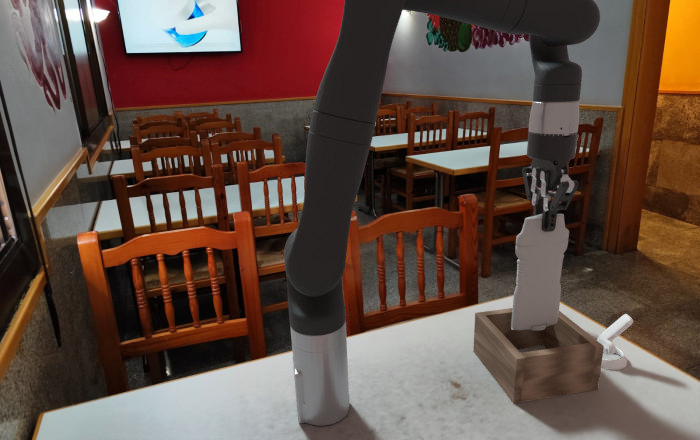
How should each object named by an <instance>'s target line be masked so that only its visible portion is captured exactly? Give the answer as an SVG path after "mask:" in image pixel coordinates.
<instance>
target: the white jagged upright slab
mask: <svg viewBox="0 0 700 440" xmlns="http://www.w3.org/2000/svg"><path fill="white" fill-rule="evenodd" d="M569 236H570V230H569V229H568V228H567V227H566V224H565V215H564V213H557V219H556V227H555V230H554V231H550V232H544V231H543V230H542V214H539V215H536V216H533V215H531V216H528V217H525V218H524V222H523V225H522V229H521V231H520V233H518V234H517V235H516V237H515V238H516V239H515V255H516V257H517V258H518V259H517V260H516V263H517V264H516V266H517V267H516V269H517V270H516V278H515V281H516V282H515V284H516V286H515V289H514V292H513V298H512V299H513V300H512V308H513V309H512V322H511V329H512V330H515V331H524V330H537V331H539V330H544V329H545V328H546V327H548V326H552V325H555V324H557V323H558V314H559V311H560V305H561V295H562V286H561V279H562V270H563V269H562V268H563V264H564V262H563V261H564V258H565V254H564V253H565V252H566V251H567V249H568V245H569Z"/></svg>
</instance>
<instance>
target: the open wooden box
mask: <svg viewBox="0 0 700 440" xmlns="http://www.w3.org/2000/svg"><path fill="white" fill-rule="evenodd" d="M512 309H513V307H510V308H509V307H508V308H503V309H501V308H500V309H495V310H494V309H493V310H487V311H479V312H475V313H474V331H473V332H474V334H473V353H474V354H475V356H476V357H477V358H478V359H479V361H480V362H481V363H482V365H484V367H485V369H487V372H489V374H490V375H491V376H492V378H493V379H494V381H495V382H496V383H497V384H498V385H499V387H500V388H501V389H502V391H503V392H504V393H505V394H506V396H507V397H508V399H510V401H511V402H512V404H517V403H522V402H523V403H524V402H529V401H535V400H536V401H537V400H541V399H543V400H544V399H547V398H548V399H549V398H554V397H561V396H567V395H573V394H577V393H578V394H579V393H585V392H591V391H596V390H599V383H600V378H601V377H600V376H601V369H602V368H601V363H602V358H603V356H604V352H603V349H604V346H603V345H602V344H601V343H599V342H598V341H597V339H596V338H594V337H593V336H592V335H591V334H590V333H588V332H587V331H585V329H583V328H582V327H580V326H579V325H578V324H577V323H576V322H574V321H573V320H571V318H569V317H568V316H566V314H564V313H563V312H562V311H560V310H559V314H558V323H557V324H555V325H552V326H548V327H546V328H545V329H544V330H539V331H537V330H524V331H515V330H512V329H511V322H512ZM539 347H545V349H544V348H543V349H537V350H531V351H524V352H520V351H519V350H524V349H530V348H532V349H533V348H539Z"/></svg>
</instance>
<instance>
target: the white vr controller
mask: <svg viewBox="0 0 700 440" xmlns="http://www.w3.org/2000/svg"><path fill="white" fill-rule="evenodd" d="M633 324H634V319H633V318H632V317H631V316H630V315H629V314H628V313H624V314H623V315H622V316H620V317H619V318H618V319H616V320H615V321H614V322H613V323H612V324H611V325H609V326H608V327H607V328H606V329H605V330H603V332H602V333H600V335H599V336H598V337H597V339H596V340H597V341H598V342H599V343H601V344H602V345H603V346H604V349H603V354H606V355H611V356H612V355H613V354H616V355H618V356H620V358H617V359H606V358H603V357H602V363H601V369H604V370H610V371H611V370H613V371H615V370H616V371H617V370H622V369H624V368H625V367H626V366H627V365H628V361H627V357H626V356H625V353H624V352H623V351H622V350H621V349H620V348H618V347H617V346H616V345H615V343H614V342H613V341H614V340H615V339H616V338H617V337H619V336H620V335H621V334H623V332H625V330H627V329H628V328H629V327H631V326H632V325H633Z"/></svg>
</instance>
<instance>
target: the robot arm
mask: <svg viewBox="0 0 700 440" xmlns="http://www.w3.org/2000/svg"><path fill="white" fill-rule="evenodd" d="M403 11H407V12H409V11H410V12H416V13H422V14H428V15H433V16H437V17H441V18H445V19H450V20H453V21H457V22H460V23H463V24H464V23H465V24H467V25H471V26H474V27H475V26H476V27H479V28H484V29H487V30H491V31H496V32H499V33H503V34H504V33H505V34H509V35H515V36H516V35H517V36H519V35H528V43H529V50H530V57H531V62H532V67H533V71H534V81H533V89H532V90H533V93H532V102H531V109H530V111H529V112H530V113H529V121H528V123H529V124H528V132H527V133H528V134H527V135H528V136H527V147H526V156H527V157H528V158H529V159H532V161H531V163H530V164H531V165H530V166H527V167H526V166H525V167H522V169H521V170H522V171H521V173H522V178H523V184H524V189H525V190H524V191H525V194H526V199H527V200H531V205H532V206H533V215H532V216H536V215H539V214H542V230H543V231H544V232H550V231H554V230H555V227H556V219H557V214H558V212H559V211H563V210H564V211H565V210H567V209H568V207H569V205H570V203H571V201H572V199H573V197H574V196H575V194H576V192H577V189H578V188H579V186H580V185H579V181H578V180H572V179H571V177H570V176H569V174H570V173H569V172H570V170H569V161H570V160H573V159H574V158H575V157H576V150H577V144H578V143H577V141H578V140H577V139H578V131H579V123H580V98H581V89H582V78H583V70H582V67H581V65H580V64H578V63H576V62H573V61H571V59H570V57H569V52H568V46H574V45H579V44H582V43H583V42H585V41H587V40H588V39H590V38H591V37H592V36H593V35H594V34H595V32H596V31H597V30H598V27H599V25H600V22H601V13H600V8H599V6H598V3H596V2H595V1H594V0H344V3H343V11H342V19H341V24H340V30H339V34H338V36H337V40H336V44H335V46H334V49H333V52H332V54H331V57H330V59H329V61H328V64H327V66H326V68H325V71H324V74H323V75H322V79H321V81H320V83H319V87H318V89H317V93H316V96H315V99H314V104H313V110H312V114H311V120H310V124H309V129H308V135H307V143H306V151H305V153H306V154H305V165H304V168H305V169H304V194H303V196H304V197H303V205H302V209H301V214H300V217H299V222H298V226H297V228H296V229H294V230H293V231H292V232H291V234H290V235H289V236H288V238H287V239H286V242H285V245H284V251H283V252H284V254H283V255H284V268H285V269H284V270H285V276H286V277H285V278H286V287H287V288H286V289H287V304H288V316H289V326H290V337H291V338H290V339H291V348H292V349H291V351H292V365H293V366H292V368H293V380H294V390H295V402H296V410H297V419H298V420H297V421H298V424H304V423H306V424H309V425H312V426H316V427H317V426H318V427H319V426H320V427H322V426H331V425H334V424H336V423H338V422H340V421H341V420H343V419H344V418H345V417H346V416H347V415H348V414H349V411H350V391H349V389H350V388H349V387H350V386H349V367H348V365H349V364H348V342H347V341H348V340H347V322H346V321H347V319H346V317H347V316H346V304H345V303H346V302H345V298H344V297H345V295H344V289H343V281H342V280H343V276H344V273H345V270H346V262H347V252H348V243H349V235H350V227H351V221H352V216H353V209H354V206H355V203H356V200H357V196H358V193H359V189H360V187H361V183H362V179H363V176H364V172H365V168H366V165H367V160H368V156H369V153H370V150H371V149H370V148H371V146H372V141H373V136H374V132H375V127H376V123H377V118H378V114H379V113H378V112H379V109H380V108H379V107H380V103H381V102H380V101H381V98H382V95H383V94H382V92H383V90H384V85H385V79H386V75H387V68H388V62H389V58H390V57H389V56H390V52H391V49H392V45H393V41H394V38H395V34H396V31H397V29H398V28H397V27H398V25H399V22H400V19H401V16H402V12H403ZM551 199H552V200H551Z"/></svg>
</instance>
